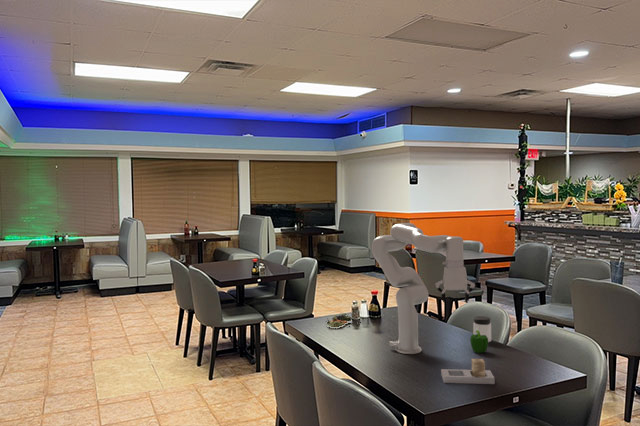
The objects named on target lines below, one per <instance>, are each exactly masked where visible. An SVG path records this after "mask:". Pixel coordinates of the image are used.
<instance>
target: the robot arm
mask: <svg viewBox="0 0 640 426" xmlns="http://www.w3.org/2000/svg"><path fill="white" fill-rule="evenodd" d="M408 244H409V245H412V246H413V247H415V248H416V249H417V250H419V251H422V252H426V253H429V254H430V253H433V254H434V253H442V252H445V261H442V265H443V266H444V269H443V275H442V276H443V278H442V279H441V280H440V281H438V282H436V283H435V287H436V288H437V290H438V292H440V294H441V301H442V302H443V304H446V291H464V292H465V293H464V303H466V304H468V302H469V301H470V293H471V292H472V291H473V290H474V288H475V286H476V284H475V282H472V281H470V280H469V279H468V276H467V268H466V267H465V266H464V239H463V237H461V236H456V235H455V236H452V235H447V234H441V235H428V234H427V235H426V234H424V231H423V230H422V229H421V228H419V227H417V225H415V224H414V223H411V222H404V223H402V222H401V223H396V224H394V225H393V226H391V229H390V234H386V235H380V236H377V237H376V238H374V239H373V240H372V243H371V252H372V255H373V258H374V259H375V260H376V262H377V263H378V266H380V268H381V269H382V272H383V273H384V275H385V277H386V278H387V280H388V282H389V284H390V285H391V287H394V288H399V289H398V290H397V291H396V293H395V300H396V305H397V317H398V319H397V321H398V324H397V325H398V326H397V327H398V339H397V340H395V341H389V342H388V343H389V346H391V347H392V348H393V347H395V351H396V352H397V353H400V354H404V355H405V354H406V355H415V354H419V353H421V352H422V347H421V346H419V321H418V320H419V317H418V316H419V315H418V311H417V309H416V307H415V306H416V305H420V304H425V302H427V301H428V299H429V290H428V288H427V286H426V285H425V283H424V282H423V280H422V278H421V277H420V275H419V273H418V272H417V270H415V269H414V268H412V267H410V266H404V267H402V266H400V264H399V262H398V261H397V258H395V257H394V256H393V255H392V254H390V252H396V251H401V250H402V249H403V248H405V247H406V246H408ZM440 285H442V286H443V287H442V288H441V287H440ZM468 285H470V286H469V288H468Z"/></svg>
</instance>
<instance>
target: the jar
mask: <svg viewBox="0 0 640 426" xmlns="http://www.w3.org/2000/svg"><path fill="white" fill-rule="evenodd" d="M472 330H473V331H472V332H473V333H472V334H474V335H476V334H478V332H476V330H478V331H479V332H480V335H481V336H482V335H486V336H487V338H488V344H489V343H490V342H492V322H491V317H488V316H485V315H484V316H482V315H480V316H479V315H478V316H477V315H476V316H474V317H473V329H472Z"/></svg>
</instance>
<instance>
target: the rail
mask: <svg viewBox="0 0 640 426" xmlns="http://www.w3.org/2000/svg"><path fill="white" fill-rule="evenodd" d="M440 370H441V372H440V374H441V375H440V376H441V378H442V382H443V384H446V383H447V384H481V385H495V384H496V382H495V376H494V375H493V373H492V371H491V370H490V369H485V376H472V369H457V368H456V369H447V368H444V369H443V368H442V369H440Z"/></svg>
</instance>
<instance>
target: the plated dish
mask: <svg viewBox="0 0 640 426" xmlns="http://www.w3.org/2000/svg"><path fill="white" fill-rule="evenodd" d="M352 318H353V317H351V315H349V316H348V315H347V313H343V314H339V315H334V316H333V317H332V318H331V320H329V319H327V321H328V322H327V321H326V322H327V324H326V326H327V325H329V326H331V327H339V326H342V325H344V324H345V323H347V321H351V319H352ZM357 324H358V322H357Z"/></svg>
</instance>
